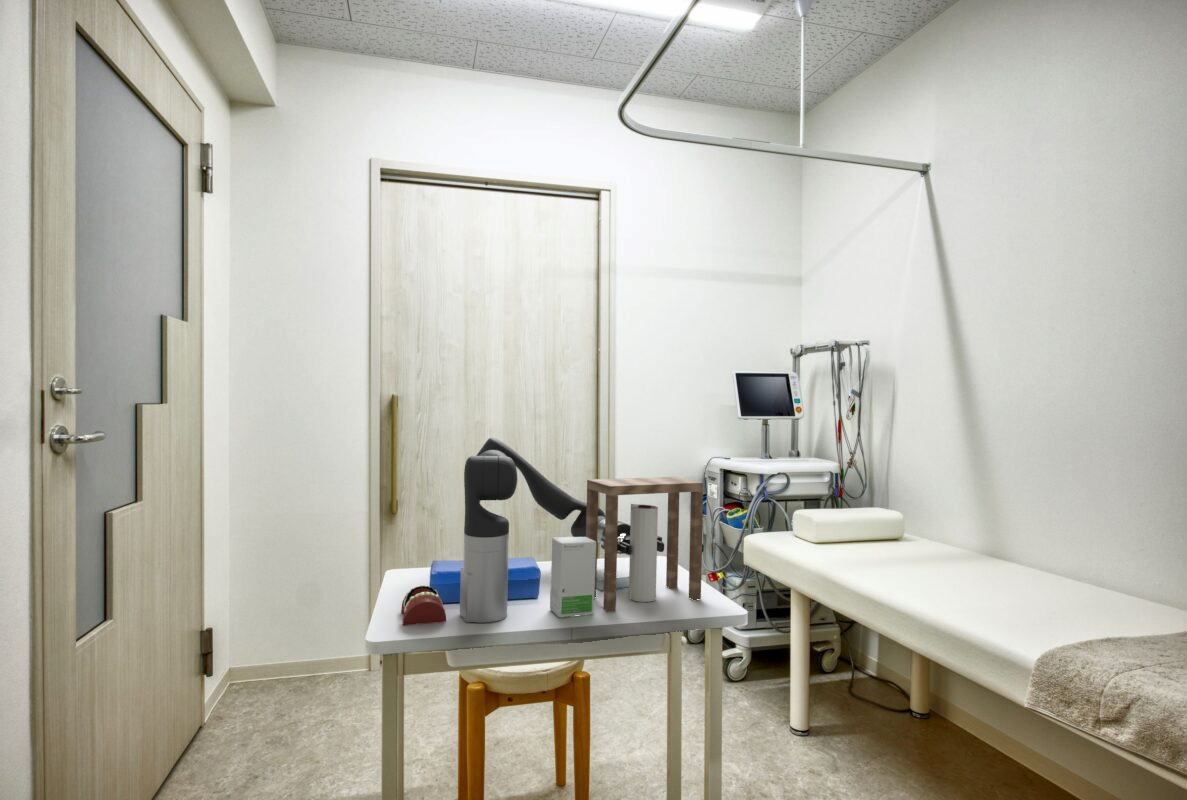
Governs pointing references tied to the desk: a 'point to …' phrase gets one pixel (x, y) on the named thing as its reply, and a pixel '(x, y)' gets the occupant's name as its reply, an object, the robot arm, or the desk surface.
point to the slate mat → (620, 583)
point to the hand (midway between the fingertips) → (646, 549)
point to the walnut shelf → (696, 515)
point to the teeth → (422, 606)
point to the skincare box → (572, 576)
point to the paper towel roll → (643, 552)
